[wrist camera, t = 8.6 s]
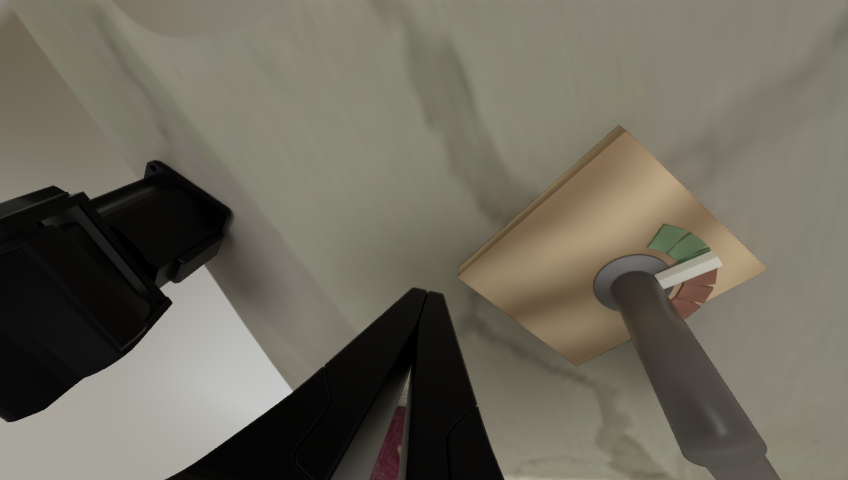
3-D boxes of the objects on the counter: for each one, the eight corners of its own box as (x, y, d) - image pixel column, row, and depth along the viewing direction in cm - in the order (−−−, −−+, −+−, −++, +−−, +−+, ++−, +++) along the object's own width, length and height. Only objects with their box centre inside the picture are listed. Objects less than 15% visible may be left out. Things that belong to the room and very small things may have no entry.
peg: (661, 360, 23) (749, 533, 15) (602, 283, 20) (669, 439, 12) (759, 330, 20) (931, 522, 12) (704, 238, 18) (871, 400, 10)
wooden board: (459, 267, 24) (457, 279, 23) (619, 125, 17) (628, 131, 16) (576, 355, 26) (580, 371, 25) (757, 261, 20) (774, 276, 18)
